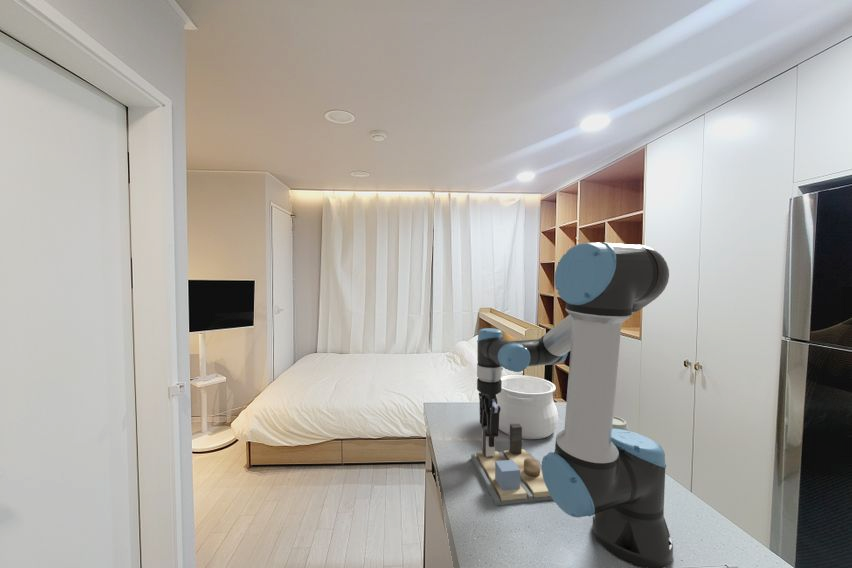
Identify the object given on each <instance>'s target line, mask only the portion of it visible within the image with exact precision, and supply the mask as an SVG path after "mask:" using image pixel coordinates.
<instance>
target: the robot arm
mask: <svg viewBox="0 0 852 568" xmlns="http://www.w3.org/2000/svg"><path fill="white" fill-rule="evenodd" d="M669 278H670V269H669V266H668V263H667V261H666V260H665V258H664V257H663V255H661V253H660V252H658V251H657V250H655V249H653V248H652V247H650V246H648V245H647V246H646V245H642V244H633V243H632V244H626V243H625V244H624V243H612V242H602V241H600V242H599V241H597V242H583V243H578V244H576V245H573V246H571V247H570V248H569V249H568V250H567V251H566V252H565V253H564V254H563V255H562V256H561V257H560V259H559V261H558V262H557V265H556V269H555V272H554V288H555V290H557V295H558V296H559V297H560V299H561V300H563V301H564V302H565V311H566V312H567V314H568V315H567V316H566V317H565V318H563V319H562V320H561V321H560V322H559V323H557V324H556V325H555V326H553V328H551V329H550V330H548V331H547V332H546V333H545V334H544V335H542V336H541V337H539V338H537V339H536V338H535V339H525V340H524V339H523V340H506V339H504V336H503V331H502V330H501V329H499V328H492V327H491V328H490V327H485V328H480V329H479V330H478V332H477V334H478V335H477V340H476V342H477V351H476V352H477V353H476V354H477V364H476V377H477V378H476V389H477V391H478V399H479V424H481V429H482V430H481V449H482V448H483V426H487V434H485V437H486V457H488V456H495V451H496V438H497V437H499V430H500V429H499V414H500V409H501V408H500V406H497V398H496V395H497V394H498V393H500V392H501V389H502V381H501V377H503V376H502V373H503V370H504V369H505V370H508V371H509V372H512V373H513V372H514V373H520V372H523V371H524V370H526V369H527V368H528V367H534V366H535V367H536V366H537V367H538V366H548V365H549V366H550V365H553V366H554V365H556V364H561V363H563V362H565V361H566V359H567V356H568V354H569V365H568V375H567V376H568V379H567V390H566V391H567V393H566V405H565V417H564V419H565V420H564V429H562V430H561V431H559V432H558V433H557V434H556V436H555V447H554V451H553V452H552V451H550V452H548V453H547V454H545V455H544V456H543V458H542V460H541V465H542V475H543V479H544V482H545V485H546V487H547V489H548V491H549V493H550V495H551V497H552V499H553V500H552V501H554V503H555V505H557V506H558V508H559V509H560V510H561V511H562V512H564V513H565V514H567V515H568V516H570V517H573V518H584V517H592V533H593V536H594V537H595V539H596V540H597V542H598V543H599V545H600V546H601V547H603V548H604V550H606V551H607V552H608V553H610V555H613V557H615V558H617V559H619V560H621V561H623V562H625V563H627V564H630V565H632V566H635V567H639V568H666V567H667V566H670V564H671V563H672V561H673V558H674V544H673V541H672V538H671V535H670V531H669V528H668V525H667V522H666V518H665V511H664V509H665V508H664V507H665V485H666V468H667V464H666V453H665V450H664V449H663V447H662V446H661V444H659V443H657V441H655V440H654V439H651V438H649V437H647V436H645V435H642V434H640V433H637V432H634V431H631V430H622V429H612V424H613V416H614V414H615V413H614V412H615V410H614V409H615V399H616V388H617V379H618V378H617V377H618V367H619V358H620V356H619V355H620V344H621V334H622V325H623V323H624V322H625V321H627V320H628V319H630V318H631V317H633V316H632V314H634V313H638V311H640V310H642V309H644V308H645V307H646V306H648V305H649V304H651V303H652V302H653V301H655V300H656V299H657V298H659V296H660V295H662V293H664V291H665V289H666V288H667V285H668V283H669ZM569 352H570V353H569Z"/></svg>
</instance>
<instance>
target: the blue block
mask: <svg viewBox="0 0 852 568" xmlns="http://www.w3.org/2000/svg"><path fill="white" fill-rule="evenodd" d="M495 480H496V481H497V483H498V485H499V487H500V488H501V490H512V489H520V469H519V468H518V466H517V465H516V464H515V462H514V461H513V460H504V461H495Z"/></svg>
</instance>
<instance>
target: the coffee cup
mask: <svg viewBox="0 0 852 568" xmlns="http://www.w3.org/2000/svg"><path fill="white" fill-rule="evenodd" d="M612 429H622V430H627V431H629V426H628V424H627V421H626V420H624V419H623V418H621V417H619V416H616V415H613V424H612Z"/></svg>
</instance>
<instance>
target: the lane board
mask: <svg viewBox="0 0 852 568" xmlns="http://www.w3.org/2000/svg"><path fill="white" fill-rule="evenodd" d="M524 450H525V451H526V452H527V453H528V454H529V456H530V457H531V458H533V459H536V457H535V456H534V455H533V454H532V453H531V452H530V450H528V449H524ZM498 453H499V454H500V456H501V457H502V458H503V460H507V459H506V458H505V456H504V455H503V451H498ZM470 459H471V461H472V463H473V465H474V466H475V468H476V471H477V472H478V474H479V476H480V478H481V480H482V482H483V484H484V486H485V488H486V490H487V491H488V493H489V495H490V497H491V499H492V501H493V503H494V505H495V506H503V505H514V504H515V505H516V504H523V503H524V504H525V503H533V502H543V501H554V500H553V499H552V497H551V496H548V497H538V498H534V497H533V495H532V494H531V492H530V491H529V490H528V488H527V487H526V485H525V484H524V483H523V481H522V480H521V478H520V484H521V486H522V487H523V488H524V490H525V491H526V493H527V499H517V500H507V501H501V500H500V499H499V497H498V495H497V493H496V491H495V490H494V488H493V486H492V484H491V483H490V481H489V479H488V477H487V475H486V474H485V472H484V470H483V468H482V467H481V465H480V463H479V461H478V459H477V458H476V453H471V455H470ZM540 468H541V469H542V463H540Z"/></svg>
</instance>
